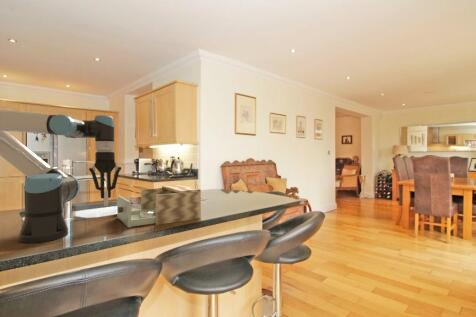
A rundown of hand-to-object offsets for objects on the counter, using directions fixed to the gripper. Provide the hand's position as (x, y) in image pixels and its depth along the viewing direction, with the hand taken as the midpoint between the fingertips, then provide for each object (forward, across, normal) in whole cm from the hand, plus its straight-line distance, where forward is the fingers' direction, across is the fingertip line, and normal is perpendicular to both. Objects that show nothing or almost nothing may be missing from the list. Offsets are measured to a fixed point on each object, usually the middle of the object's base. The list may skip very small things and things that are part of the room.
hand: (105, 205), depth 119 cm
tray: (+9, +18, 0) cm, 20 cm away
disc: (+8, +18, 0) cm, 20 cm away
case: (+9, +28, 0) cm, 29 cm away
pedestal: (+9, +12, +21) cm, 26 cm away
